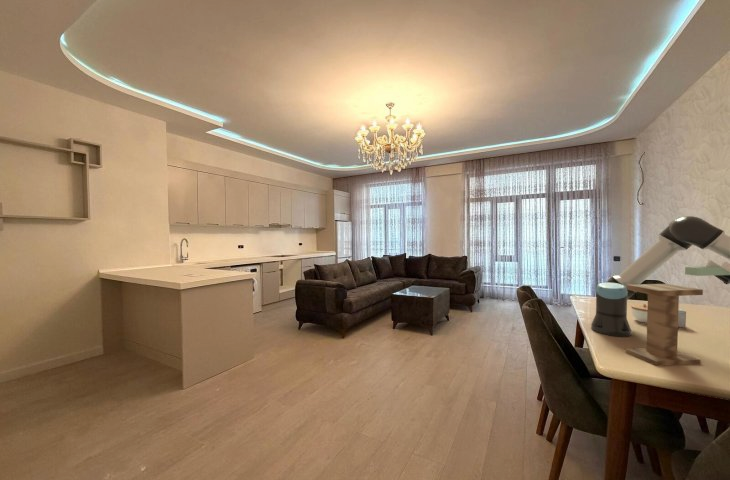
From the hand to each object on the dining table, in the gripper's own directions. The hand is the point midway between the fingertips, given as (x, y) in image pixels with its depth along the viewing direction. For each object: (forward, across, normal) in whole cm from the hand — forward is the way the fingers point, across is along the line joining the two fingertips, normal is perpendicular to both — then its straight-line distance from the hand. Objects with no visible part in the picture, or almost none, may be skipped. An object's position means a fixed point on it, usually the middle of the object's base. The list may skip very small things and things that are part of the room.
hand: (716, 264), depth 115 cm
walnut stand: (+1, 0, -43) cm, 43 cm away
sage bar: (-1, 0, -4) cm, 4 cm away
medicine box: (-40, +34, -19) cm, 56 cm away
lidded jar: (-34, +42, -23) cm, 59 cm away
